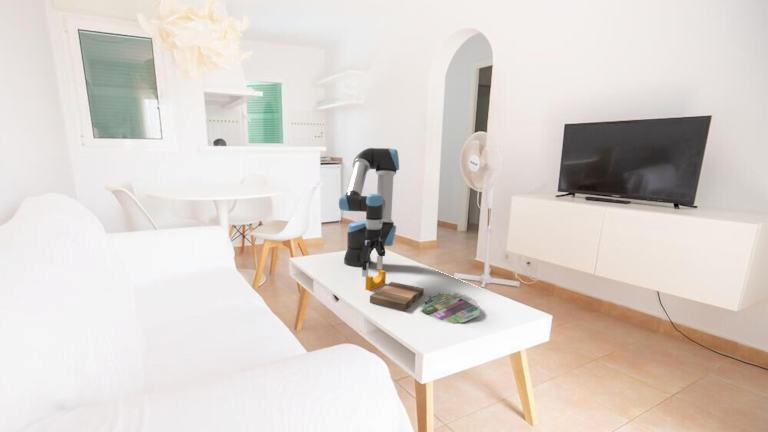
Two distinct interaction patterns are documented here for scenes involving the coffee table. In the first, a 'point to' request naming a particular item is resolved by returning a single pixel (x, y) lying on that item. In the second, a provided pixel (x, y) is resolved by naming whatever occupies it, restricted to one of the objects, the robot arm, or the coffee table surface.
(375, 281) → the pipe clamp
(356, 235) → the robot arm
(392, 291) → the board
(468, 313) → the city model
